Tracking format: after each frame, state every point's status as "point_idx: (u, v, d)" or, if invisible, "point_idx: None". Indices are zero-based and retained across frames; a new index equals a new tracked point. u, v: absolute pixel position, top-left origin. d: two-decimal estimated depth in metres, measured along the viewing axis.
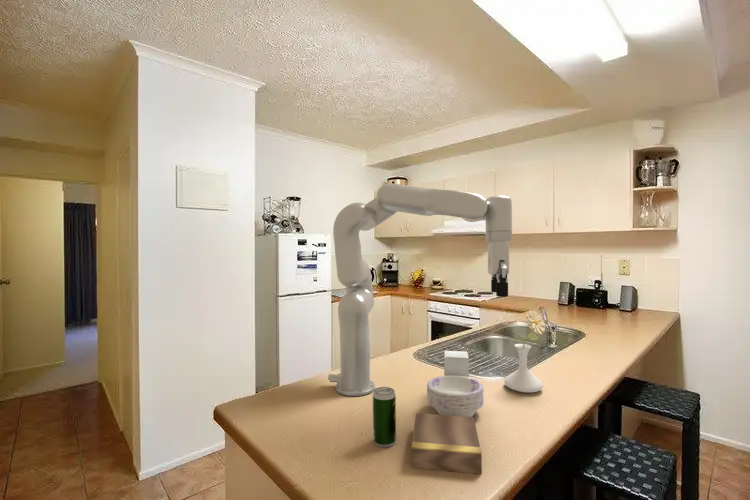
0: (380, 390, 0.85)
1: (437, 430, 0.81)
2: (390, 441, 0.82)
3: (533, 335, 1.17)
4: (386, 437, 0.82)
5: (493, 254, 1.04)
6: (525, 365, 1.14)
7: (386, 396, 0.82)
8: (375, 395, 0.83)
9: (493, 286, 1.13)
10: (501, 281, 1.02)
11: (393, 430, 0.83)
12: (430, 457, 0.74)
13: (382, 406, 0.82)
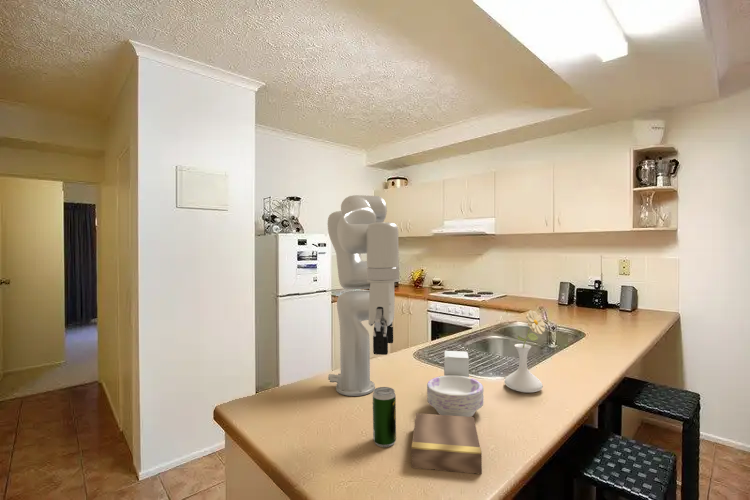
0: (380, 390, 0.85)
1: (437, 430, 0.81)
2: (390, 441, 0.82)
3: (533, 335, 1.17)
4: (386, 437, 0.82)
5: (370, 299, 0.80)
6: (525, 365, 1.14)
7: (386, 396, 0.82)
8: (375, 395, 0.83)
9: None
10: (377, 335, 0.78)
11: (393, 430, 0.83)
12: (430, 457, 0.74)
13: (382, 406, 0.82)
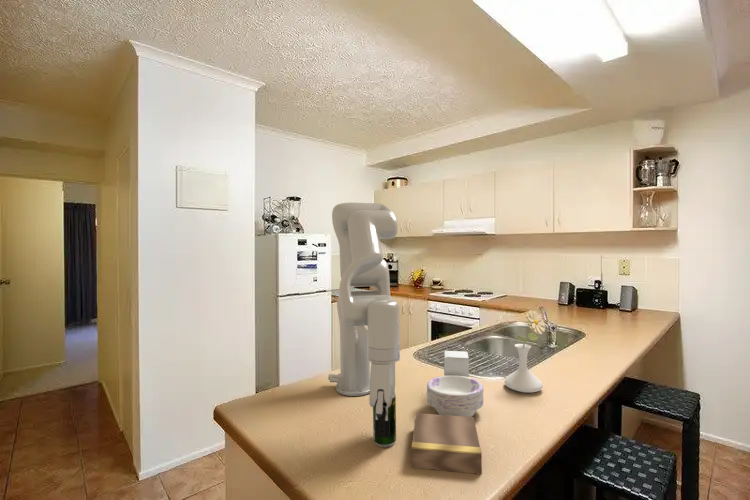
0: None
1: (437, 430, 0.81)
2: (390, 441, 0.82)
3: (533, 335, 1.17)
4: None
5: (370, 380, 0.80)
6: (525, 365, 1.14)
7: None
8: None
9: None
10: (379, 419, 0.80)
11: (393, 430, 0.83)
12: (430, 457, 0.74)
13: None
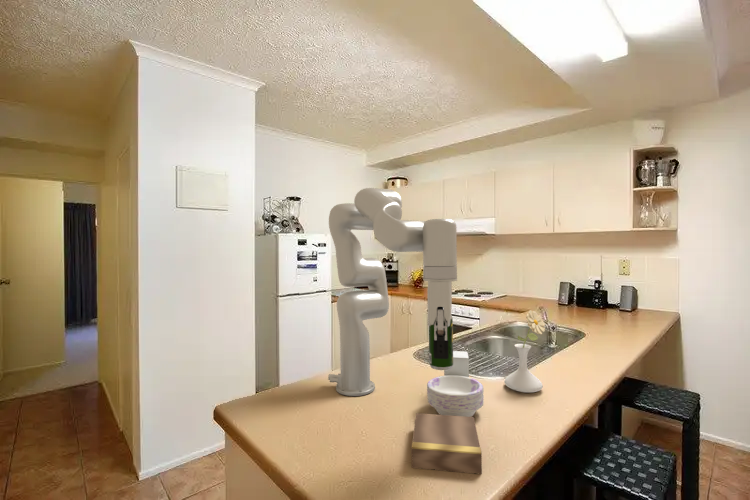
0: None
1: (437, 430, 0.81)
2: (448, 364, 0.79)
3: (533, 335, 1.17)
4: (444, 359, 0.78)
5: (429, 298, 0.77)
6: (525, 365, 1.14)
7: None
8: None
9: None
10: (438, 339, 0.77)
11: (451, 353, 0.79)
12: (430, 457, 0.74)
13: None
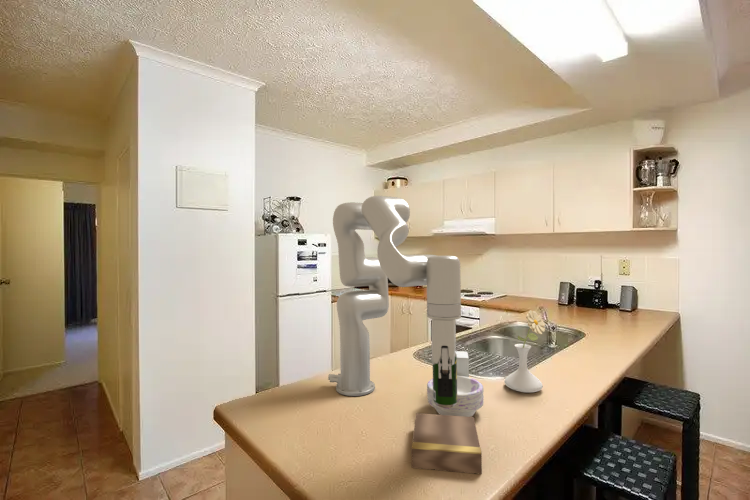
0: None
1: (437, 430, 0.81)
2: (453, 401, 0.79)
3: (533, 335, 1.17)
4: (448, 397, 0.78)
5: (433, 337, 0.77)
6: (525, 365, 1.14)
7: None
8: None
9: None
10: (443, 378, 0.77)
11: (455, 390, 0.79)
12: (430, 457, 0.74)
13: None
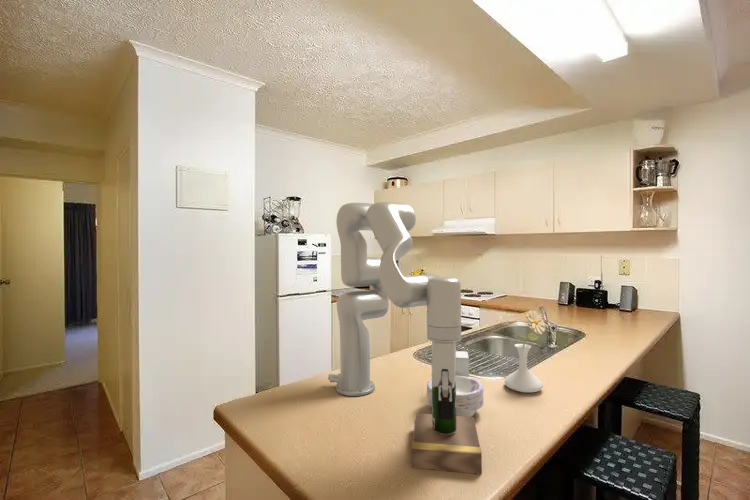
0: None
1: None
2: (452, 430, 0.79)
3: (533, 335, 1.17)
4: (448, 426, 0.79)
5: (433, 360, 0.77)
6: (525, 365, 1.14)
7: None
8: None
9: None
10: (443, 400, 0.75)
11: (454, 418, 0.79)
12: (430, 457, 0.74)
13: None
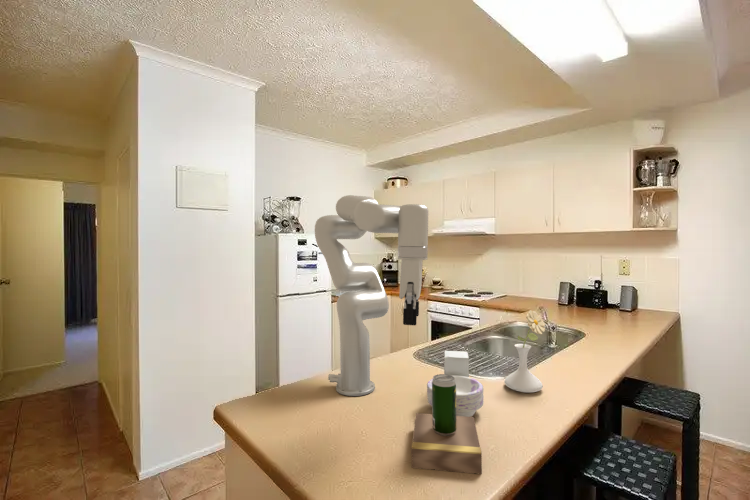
0: (439, 377, 0.82)
1: None
2: (452, 430, 0.79)
3: (533, 335, 1.17)
4: (448, 426, 0.79)
5: (401, 274, 0.87)
6: (525, 365, 1.14)
7: (448, 383, 0.79)
8: (435, 382, 0.80)
9: None
10: (408, 307, 0.86)
11: (454, 418, 0.79)
12: (430, 457, 0.74)
13: (444, 393, 0.79)
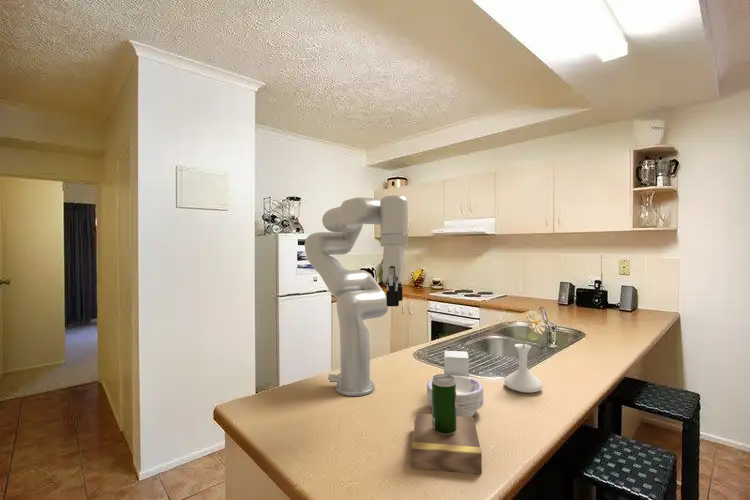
0: (439, 377, 0.82)
1: None
2: (452, 430, 0.79)
3: (533, 335, 1.17)
4: (448, 425, 0.79)
5: (383, 259, 0.95)
6: (525, 365, 1.14)
7: (448, 383, 0.79)
8: (435, 382, 0.80)
9: None
10: (390, 289, 0.93)
11: (454, 418, 0.80)
12: (430, 457, 0.74)
13: (444, 393, 0.79)
